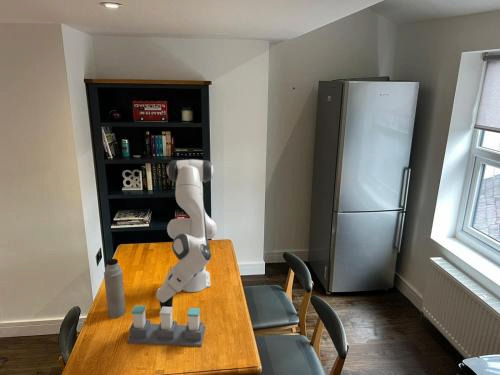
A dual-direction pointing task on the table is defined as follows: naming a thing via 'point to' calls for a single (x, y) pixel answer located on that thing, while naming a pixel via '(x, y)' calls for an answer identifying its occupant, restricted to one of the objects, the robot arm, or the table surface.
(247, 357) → the table surface
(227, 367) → the table surface
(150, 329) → the console
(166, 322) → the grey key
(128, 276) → the table surface
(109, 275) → the thermos bottle
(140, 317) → the teal key
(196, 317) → the teal key
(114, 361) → the table surface
